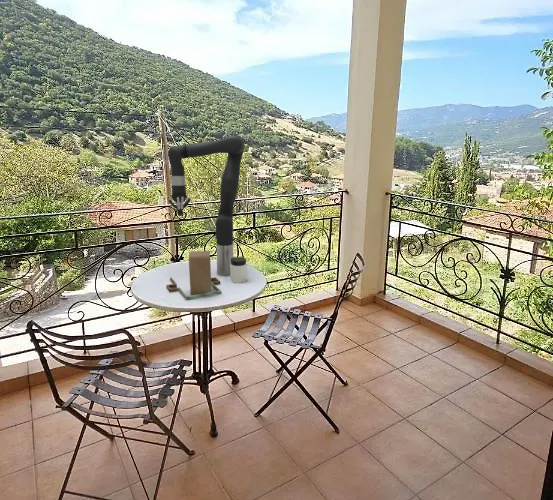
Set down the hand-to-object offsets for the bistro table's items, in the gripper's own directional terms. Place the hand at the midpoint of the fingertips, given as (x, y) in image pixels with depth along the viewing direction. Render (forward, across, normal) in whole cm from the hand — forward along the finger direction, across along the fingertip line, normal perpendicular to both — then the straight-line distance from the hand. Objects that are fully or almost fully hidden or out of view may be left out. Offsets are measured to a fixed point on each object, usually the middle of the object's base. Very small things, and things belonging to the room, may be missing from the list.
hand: (180, 215), depth 215 cm
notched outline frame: (+32, -2, -28) cm, 43 cm away
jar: (+32, +22, -29) cm, 49 cm away
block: (+32, -1, -36) cm, 48 cm away
